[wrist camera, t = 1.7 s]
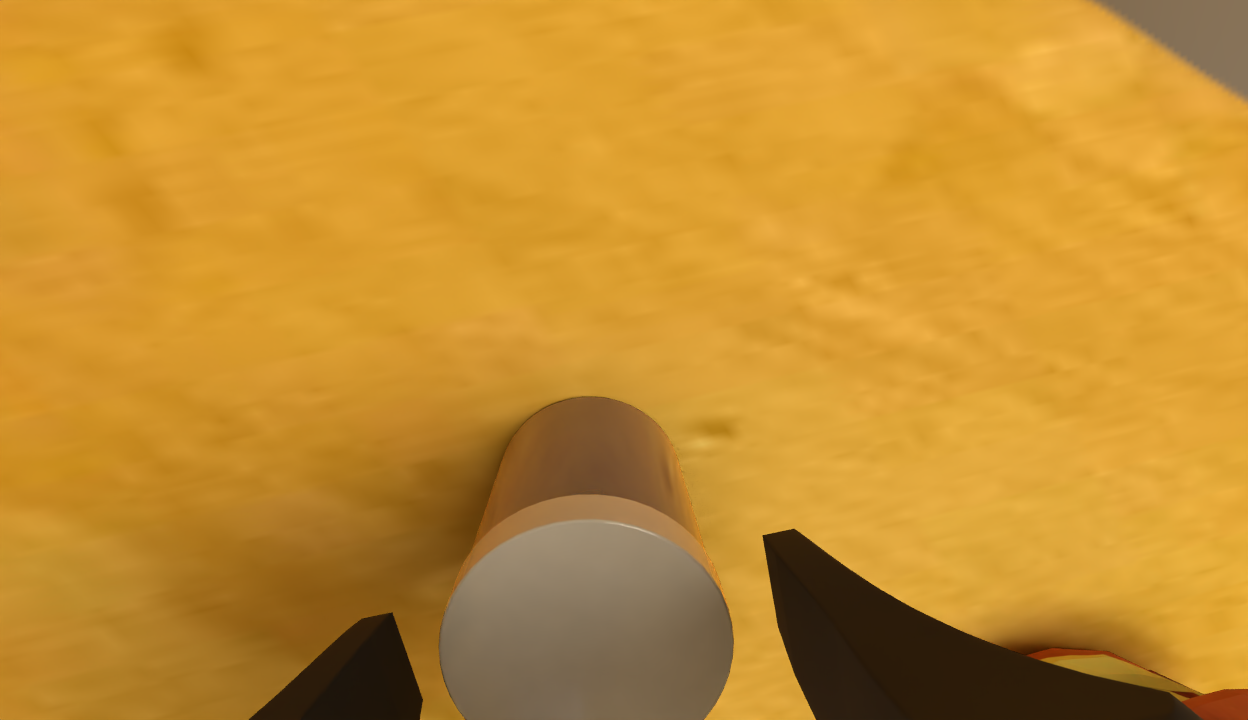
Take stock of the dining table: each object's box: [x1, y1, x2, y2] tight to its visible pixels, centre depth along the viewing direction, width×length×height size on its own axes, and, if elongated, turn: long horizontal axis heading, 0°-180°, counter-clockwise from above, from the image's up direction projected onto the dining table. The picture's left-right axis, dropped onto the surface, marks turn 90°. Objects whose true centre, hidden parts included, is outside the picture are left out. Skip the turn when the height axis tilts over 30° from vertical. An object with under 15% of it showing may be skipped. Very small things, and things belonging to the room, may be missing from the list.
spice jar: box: [439, 397, 734, 720], centre depth 15 cm, size 5×5×7 cm
